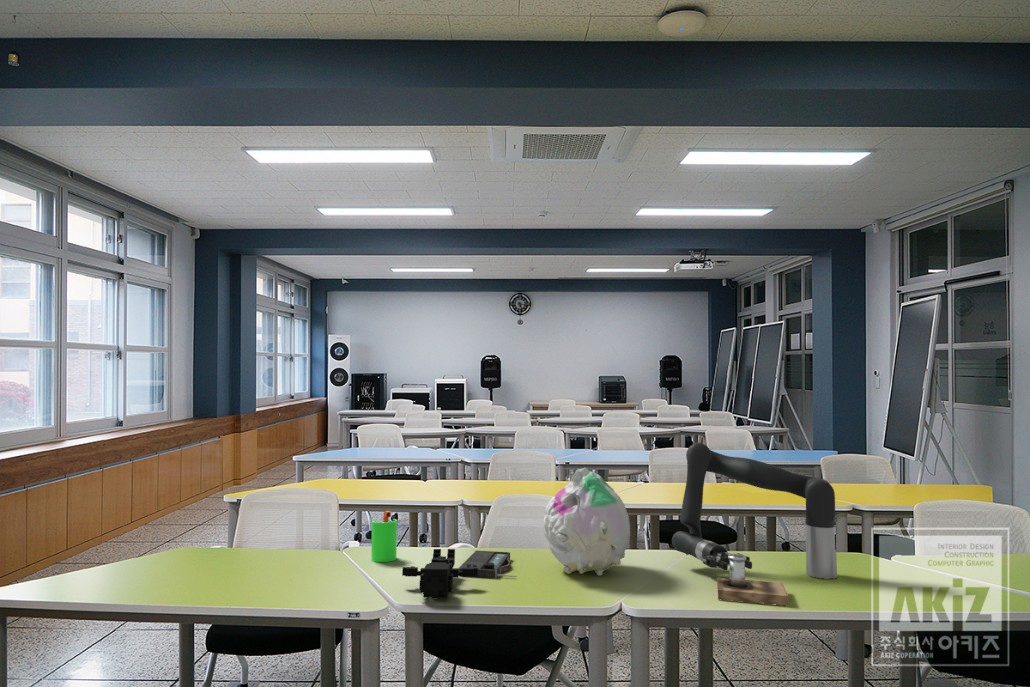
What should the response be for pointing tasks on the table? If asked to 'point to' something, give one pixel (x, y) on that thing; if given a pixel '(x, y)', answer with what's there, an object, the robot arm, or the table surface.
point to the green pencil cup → (384, 539)
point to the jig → (753, 592)
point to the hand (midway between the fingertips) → (738, 566)
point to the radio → (488, 563)
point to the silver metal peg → (737, 570)
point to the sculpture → (587, 524)
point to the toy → (439, 575)
